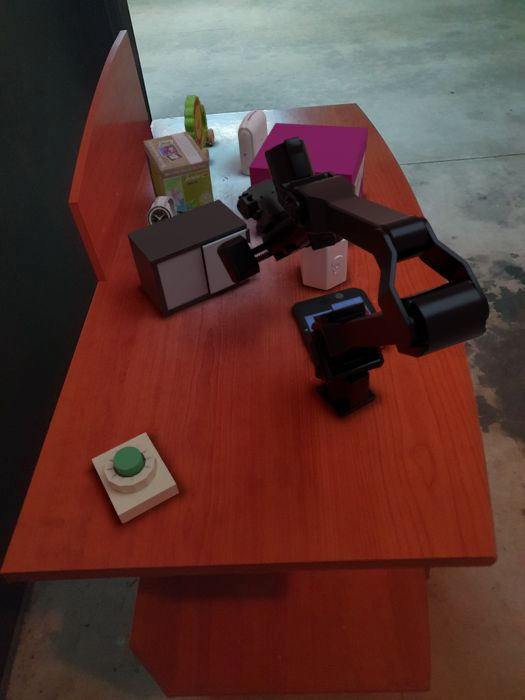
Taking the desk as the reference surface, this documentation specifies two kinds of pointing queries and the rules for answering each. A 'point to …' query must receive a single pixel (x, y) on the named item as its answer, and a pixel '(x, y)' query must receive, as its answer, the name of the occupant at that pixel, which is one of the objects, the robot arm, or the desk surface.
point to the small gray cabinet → (181, 254)
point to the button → (128, 461)
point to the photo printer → (251, 137)
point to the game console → (328, 306)
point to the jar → (324, 265)
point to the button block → (136, 480)
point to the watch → (161, 209)
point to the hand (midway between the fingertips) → (257, 255)
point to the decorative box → (319, 151)
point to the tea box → (179, 171)
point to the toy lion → (197, 123)
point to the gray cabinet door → (220, 263)
